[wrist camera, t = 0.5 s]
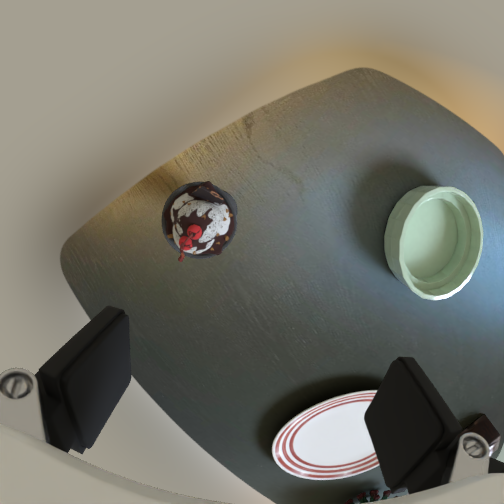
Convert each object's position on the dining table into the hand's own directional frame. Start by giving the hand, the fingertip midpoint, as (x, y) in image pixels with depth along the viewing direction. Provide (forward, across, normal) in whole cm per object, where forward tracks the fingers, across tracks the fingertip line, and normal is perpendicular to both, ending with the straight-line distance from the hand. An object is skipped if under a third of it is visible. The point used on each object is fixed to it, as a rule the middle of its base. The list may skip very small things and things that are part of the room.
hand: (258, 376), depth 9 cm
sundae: (+26, +6, -2) cm, 27 cm away
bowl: (+26, -22, -4) cm, 35 cm away
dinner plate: (+26, -22, +33) cm, 47 cm away
